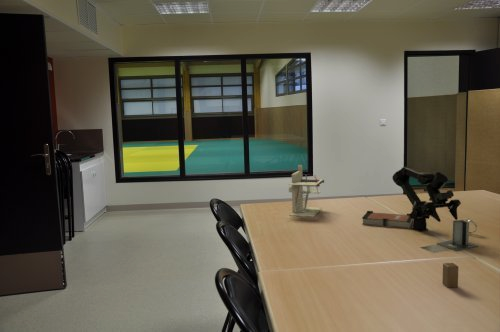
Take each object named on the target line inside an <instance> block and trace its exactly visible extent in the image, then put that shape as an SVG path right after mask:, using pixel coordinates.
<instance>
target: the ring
mask: <svg viewBox="0 0 500 332" xmlns="http://www.w3.org/2000/svg"><path fill="white" fill-rule="evenodd" d="M464 221H467V222H469V223H472V224H473V225H474V226H475V229H474V230H473V231H472V232H471V231H469V235H472V234H475V233H476V231H477V230H478V225H477V223H476V222H475V221H474V219H471V218H468V219H465V220H464Z"/></svg>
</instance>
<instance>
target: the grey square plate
mask: <svg viewBox="0 0 500 332" xmlns="http://www.w3.org/2000/svg"><path fill="white" fill-rule="evenodd" d="M419 248H420V249H422V250H425V251H427V252H430V253H433V254H437V253H442V252H447V251H449V249H448V248H445V247H442V246H440V245H437V244H436V245H435V244H431V245H425V246H421V247H419Z"/></svg>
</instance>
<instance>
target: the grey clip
mask: <svg viewBox="0 0 500 332" xmlns="http://www.w3.org/2000/svg"><path fill="white" fill-rule="evenodd" d="M469 232H470V222H467V221H465V220H464V219H457V220H452V240H453V244H452V245H455V246H458V247H461V248H462V247H467V246H468V242H469V241H470V240H469V235H470V234H469ZM469 243H470V242H469Z"/></svg>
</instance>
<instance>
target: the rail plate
mask: <svg viewBox="0 0 500 332" xmlns="http://www.w3.org/2000/svg"><path fill="white" fill-rule="evenodd" d="M436 246H439V247H442V248H445V249H448V250H451V251H454V252H458V251H463V250H468V249H472V248H479V245H478V244H474V243H472V242H468V246H467V247H464V246H462V248H461V247H458V246H455V245H453V239H452V240H446V241H441V242H436Z"/></svg>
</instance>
